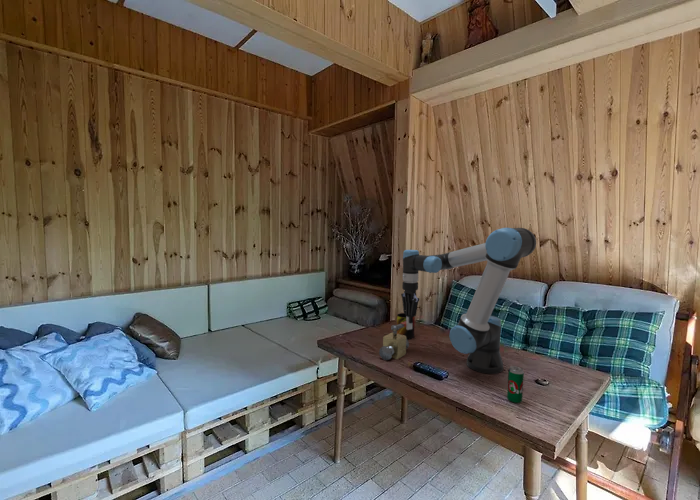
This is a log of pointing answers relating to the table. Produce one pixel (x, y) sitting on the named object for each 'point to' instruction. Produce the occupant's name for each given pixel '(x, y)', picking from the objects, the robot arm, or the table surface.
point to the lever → (397, 327)
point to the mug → (403, 330)
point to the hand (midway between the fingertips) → (409, 329)
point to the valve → (393, 346)
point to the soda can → (515, 384)
